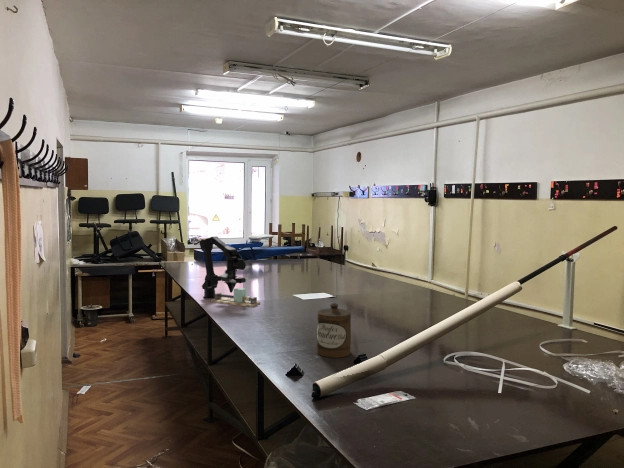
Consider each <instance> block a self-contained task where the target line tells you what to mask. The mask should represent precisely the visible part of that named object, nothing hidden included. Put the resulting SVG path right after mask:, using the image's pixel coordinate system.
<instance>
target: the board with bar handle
mask: <svg viewBox="0 0 624 468" xmlns="http://www.w3.org/2000/svg"><path fill="white" fill-rule="evenodd" d="M218 294H222V292H216V293H215V297H214V298H212V299H210V302H211V303H218V304H225V305H231V306H238V307H239V306H241V307H247V308H252V307H254V306H255V307H256V306H257V305H260V304H261V301H257V300H258V298H257V297H256V296H253V297H251V299H250V301H243V302H236V301H234V298H227V297H219V296H218ZM254 300H255V301H254Z"/></svg>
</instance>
